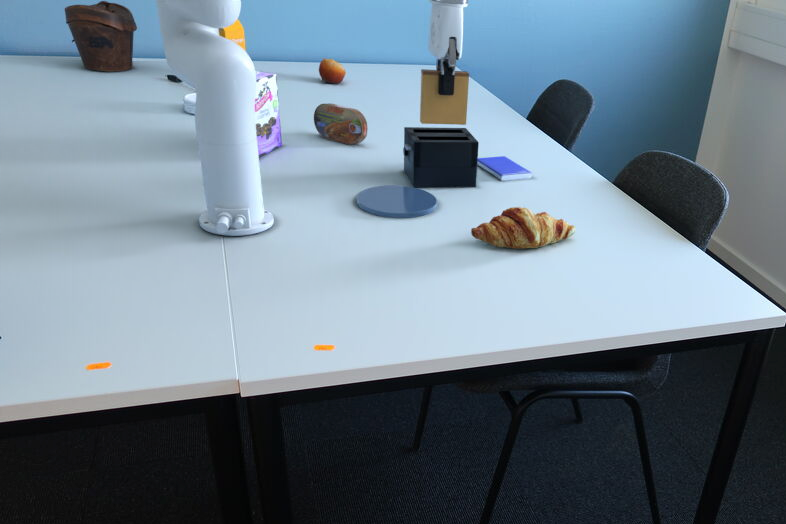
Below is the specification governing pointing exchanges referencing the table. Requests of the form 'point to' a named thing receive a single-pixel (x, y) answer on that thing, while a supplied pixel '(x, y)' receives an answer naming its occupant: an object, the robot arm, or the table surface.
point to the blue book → (504, 168)
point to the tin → (340, 123)
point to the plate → (396, 201)
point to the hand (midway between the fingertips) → (444, 92)
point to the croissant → (522, 229)
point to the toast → (443, 99)
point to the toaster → (440, 157)
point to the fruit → (331, 71)
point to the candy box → (267, 113)
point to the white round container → (190, 103)
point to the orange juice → (234, 33)
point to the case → (102, 35)
